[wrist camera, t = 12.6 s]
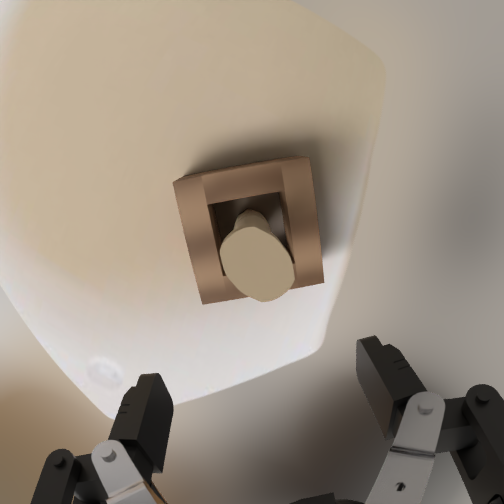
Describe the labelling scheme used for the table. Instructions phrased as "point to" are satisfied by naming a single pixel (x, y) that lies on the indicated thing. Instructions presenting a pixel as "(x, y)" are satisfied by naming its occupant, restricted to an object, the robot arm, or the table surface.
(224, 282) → the wooden block
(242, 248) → the handle
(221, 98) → the table surface
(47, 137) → the table surface
